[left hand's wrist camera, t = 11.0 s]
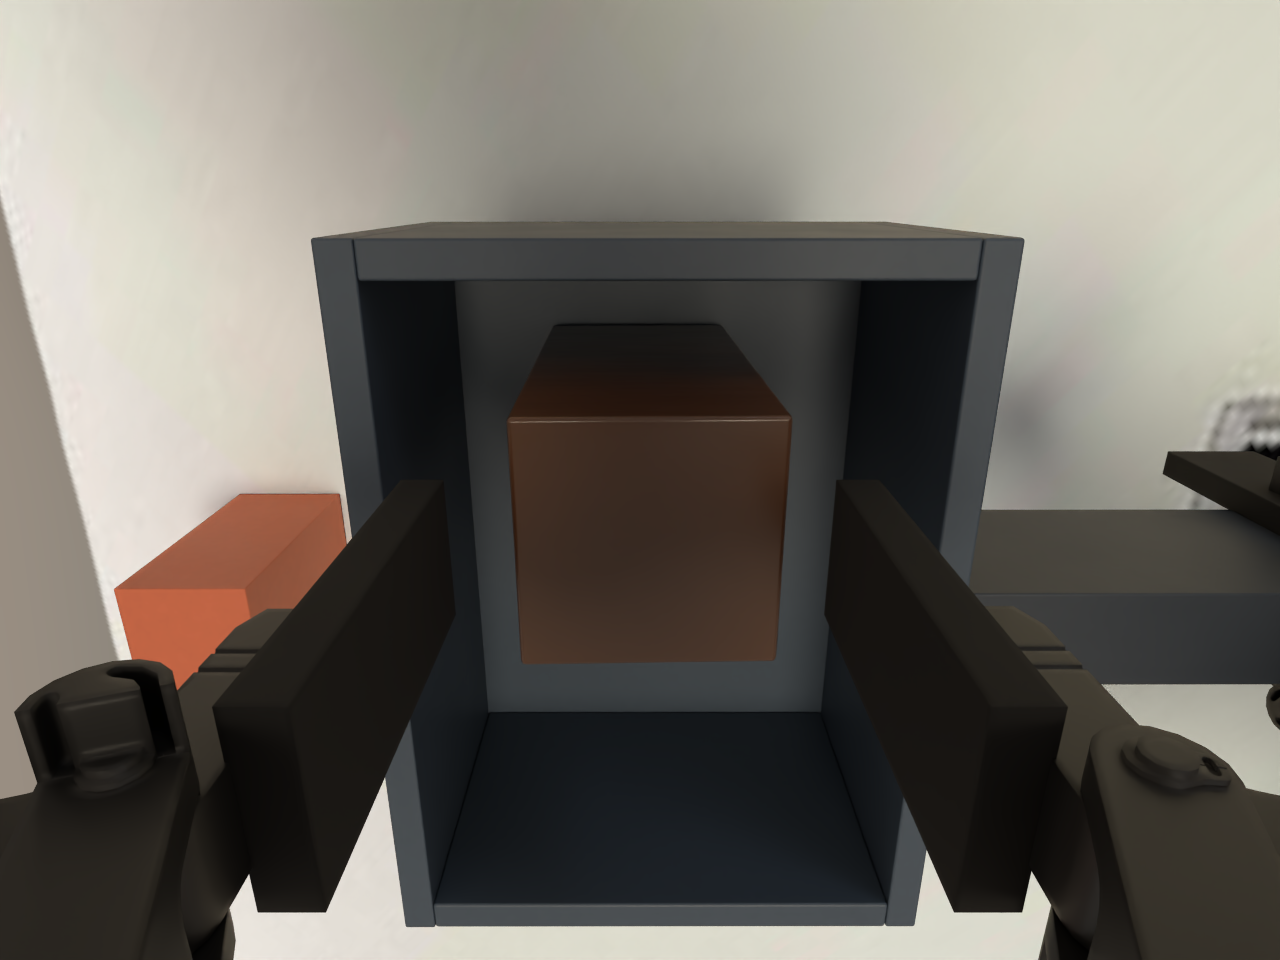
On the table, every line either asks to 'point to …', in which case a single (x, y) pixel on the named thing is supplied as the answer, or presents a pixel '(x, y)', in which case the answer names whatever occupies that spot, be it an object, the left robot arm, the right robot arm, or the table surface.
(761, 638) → the walnut block
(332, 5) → the table surface
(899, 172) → the table surface
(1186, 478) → the right robot arm
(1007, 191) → the table surface
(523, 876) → the tote
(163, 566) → the terracotta block
